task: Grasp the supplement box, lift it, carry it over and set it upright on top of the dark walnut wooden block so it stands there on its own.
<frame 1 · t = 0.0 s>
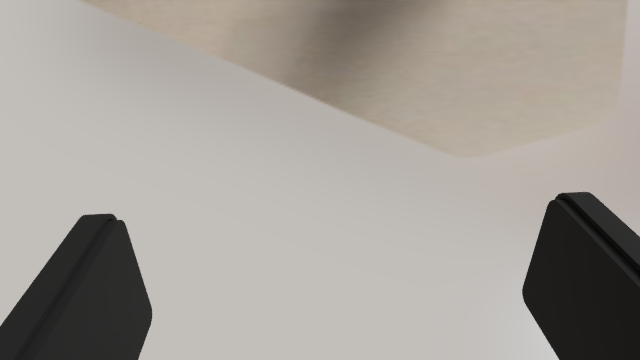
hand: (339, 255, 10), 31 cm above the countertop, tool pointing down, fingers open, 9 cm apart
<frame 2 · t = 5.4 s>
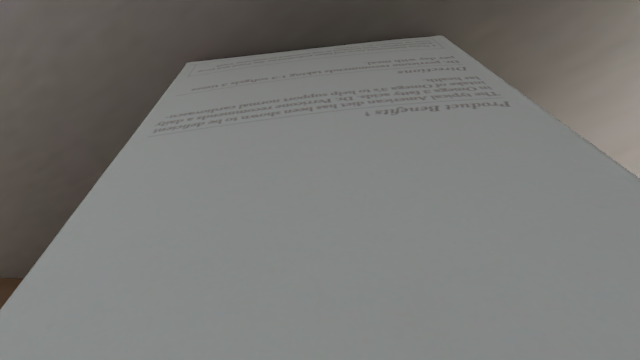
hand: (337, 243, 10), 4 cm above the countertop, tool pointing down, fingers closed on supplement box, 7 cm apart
supplement box: (327, 159, 14), on the countertop, touching gripper
when the fingers open (11 cm above the countertop, at t = 12.0 s): supplement box drops 2 cm, resting on walnut block.
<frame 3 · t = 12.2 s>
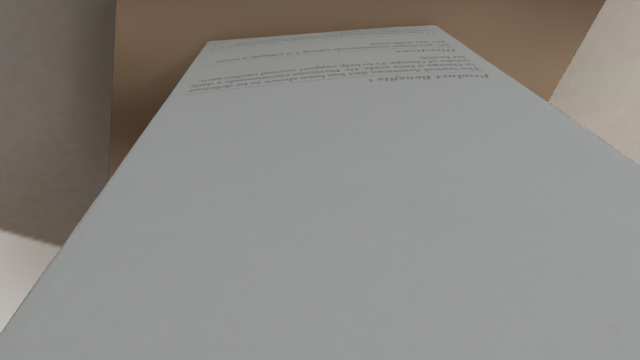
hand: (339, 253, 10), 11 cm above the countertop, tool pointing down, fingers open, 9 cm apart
supplement box: (329, 136, 15), point 5 cm above the countertop, touching walnut block
walnut block: (316, 85, 20), on the countertop, touching supplement box
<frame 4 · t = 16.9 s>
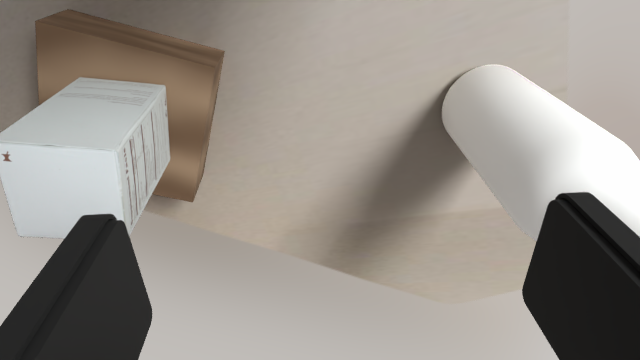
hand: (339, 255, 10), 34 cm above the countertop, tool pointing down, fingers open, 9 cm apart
supplement box: (129, 119, 38), point 5 cm above the countertop
walnut block: (144, 99, 43), on the countertop
white bottle: (480, 102, 45), on the countertop
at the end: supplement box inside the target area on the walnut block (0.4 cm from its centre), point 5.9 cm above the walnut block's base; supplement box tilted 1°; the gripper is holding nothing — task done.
